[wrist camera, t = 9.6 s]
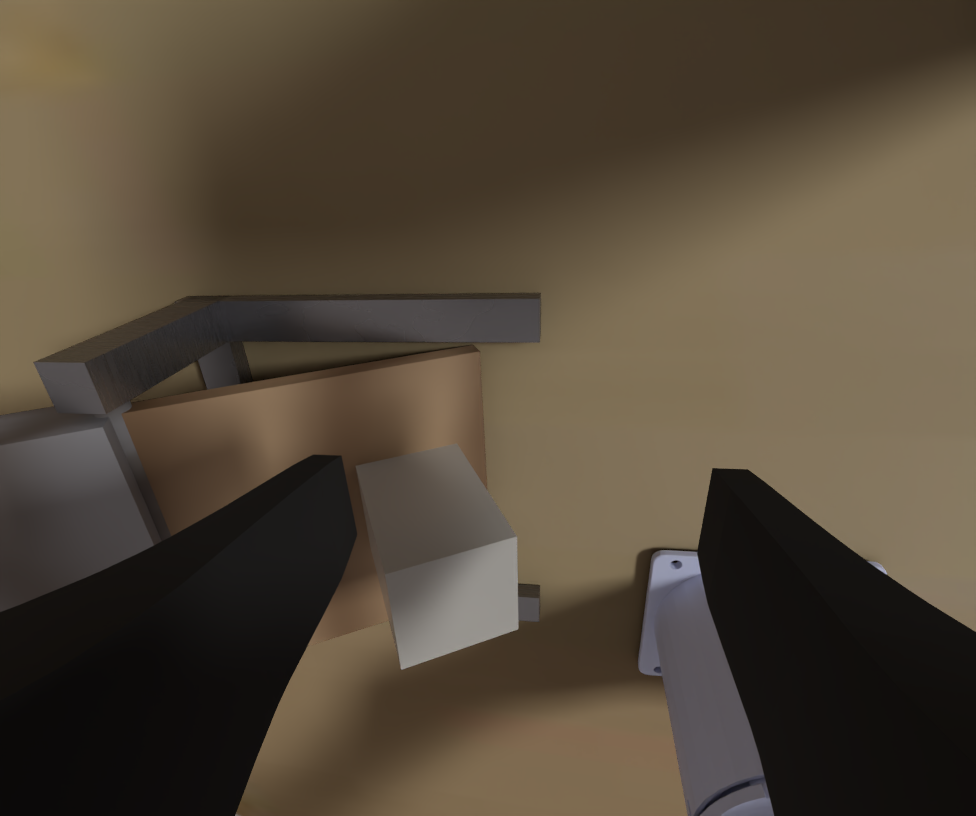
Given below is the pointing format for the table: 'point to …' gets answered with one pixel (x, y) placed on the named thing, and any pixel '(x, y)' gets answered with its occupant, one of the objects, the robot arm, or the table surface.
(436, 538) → the light grey block
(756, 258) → the table surface
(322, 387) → the trapdoor
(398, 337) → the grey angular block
